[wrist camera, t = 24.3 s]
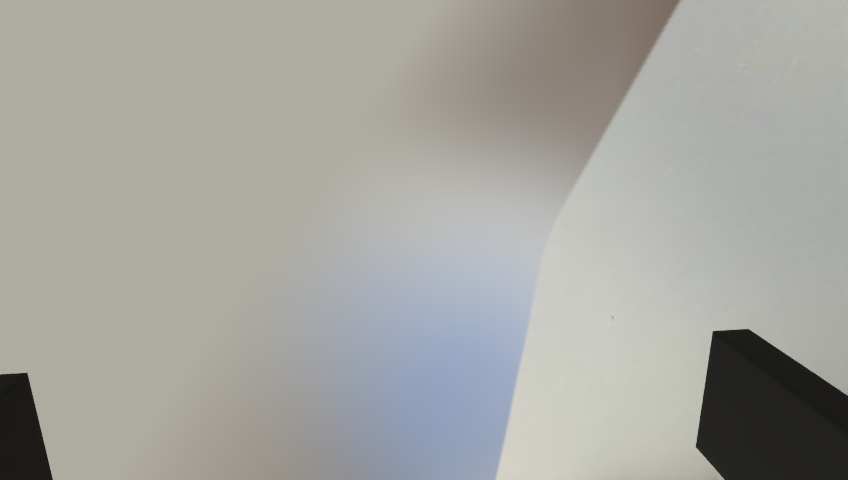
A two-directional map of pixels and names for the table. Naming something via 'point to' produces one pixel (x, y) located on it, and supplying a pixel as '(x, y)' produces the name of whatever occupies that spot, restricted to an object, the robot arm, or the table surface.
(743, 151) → the table surface
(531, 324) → the table surface
